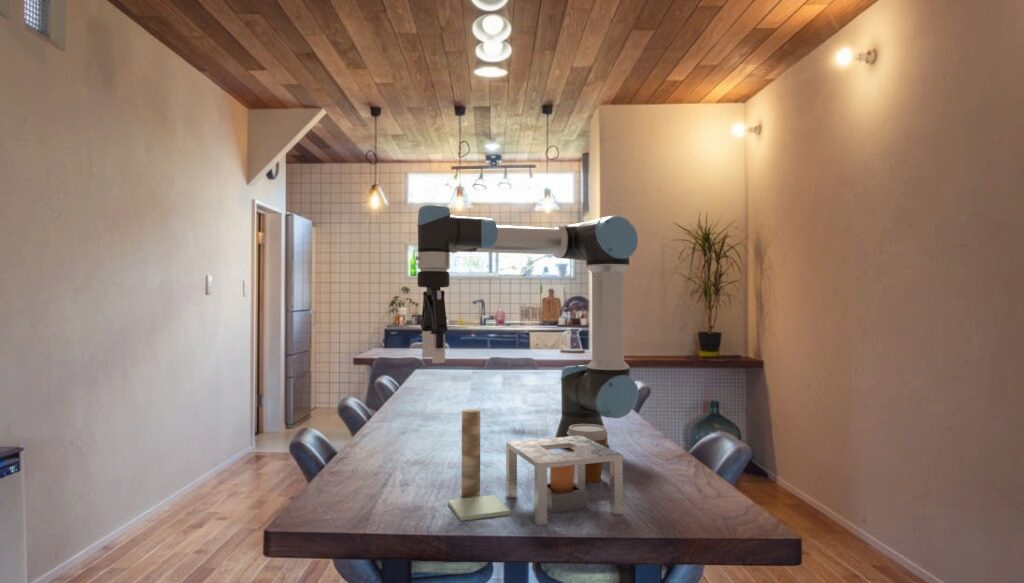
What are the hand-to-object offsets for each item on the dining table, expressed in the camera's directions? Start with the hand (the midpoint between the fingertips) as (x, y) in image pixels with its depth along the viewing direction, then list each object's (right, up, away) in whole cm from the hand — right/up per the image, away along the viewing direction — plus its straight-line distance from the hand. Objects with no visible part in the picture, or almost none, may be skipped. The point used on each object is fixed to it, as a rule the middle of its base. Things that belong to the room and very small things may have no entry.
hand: (433, 360), depth 142 cm
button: (+29, -24, -19) cm, 43 cm away
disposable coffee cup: (+37, -28, -2) cm, 46 cm away
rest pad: (+12, -27, -22) cm, 37 cm away
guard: (+29, -28, -19) cm, 44 cm away
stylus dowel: (+10, -28, -13) cm, 32 cm away
